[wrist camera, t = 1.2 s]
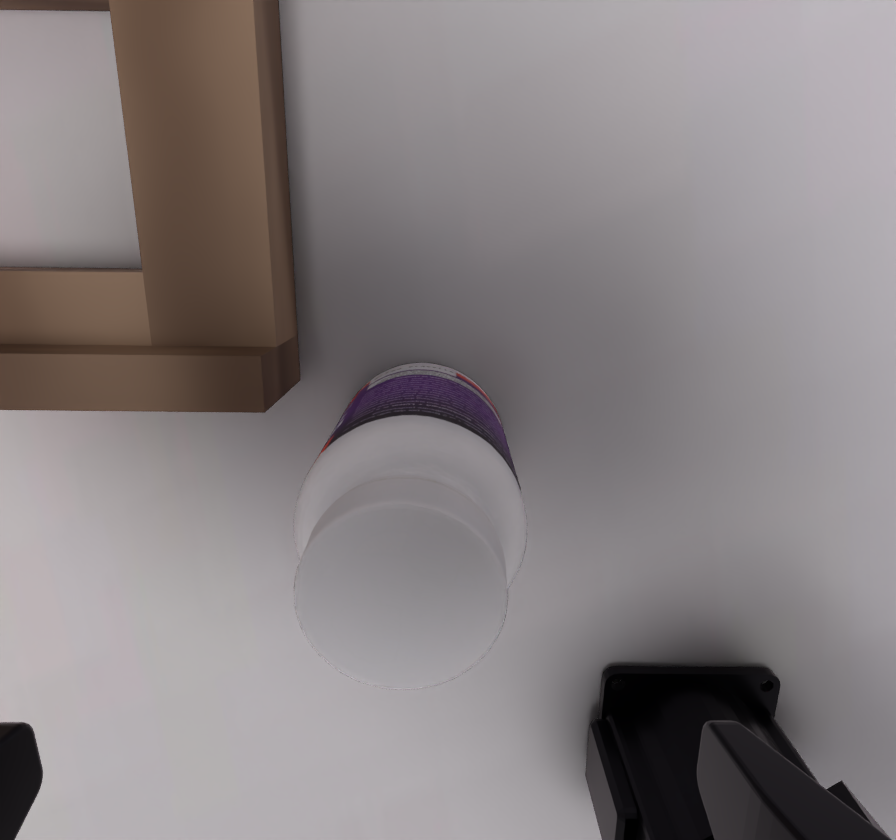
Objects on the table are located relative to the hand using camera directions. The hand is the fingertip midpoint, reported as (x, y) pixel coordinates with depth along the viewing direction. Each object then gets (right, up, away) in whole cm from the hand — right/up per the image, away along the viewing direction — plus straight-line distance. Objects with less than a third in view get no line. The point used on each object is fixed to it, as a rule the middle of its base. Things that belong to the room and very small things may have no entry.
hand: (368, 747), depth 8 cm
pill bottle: (0, +4, +13) cm, 13 cm away
